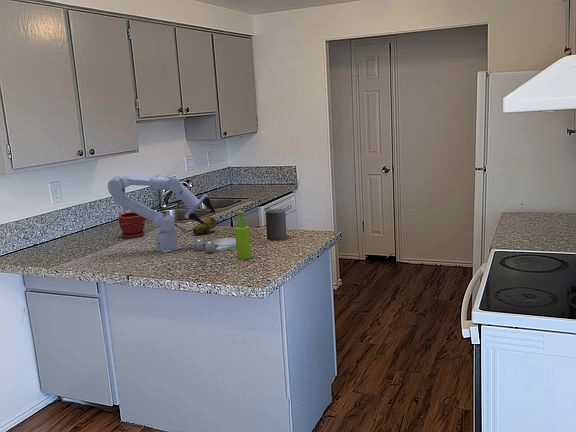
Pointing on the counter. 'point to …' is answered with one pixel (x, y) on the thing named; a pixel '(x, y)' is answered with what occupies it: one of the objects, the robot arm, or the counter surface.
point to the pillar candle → (276, 224)
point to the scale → (224, 244)
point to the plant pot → (131, 225)
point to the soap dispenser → (242, 238)
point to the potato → (205, 226)
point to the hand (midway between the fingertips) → (209, 218)
